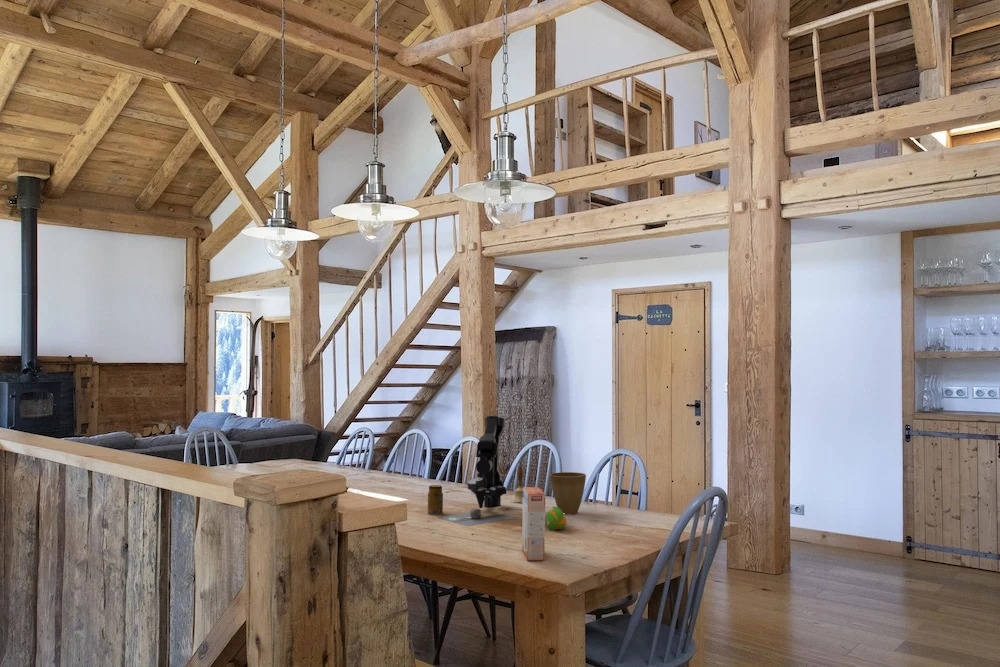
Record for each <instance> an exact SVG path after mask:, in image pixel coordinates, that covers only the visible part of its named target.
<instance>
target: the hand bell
mask: <svg viewBox="0 0 1000 667" xmlns="http://www.w3.org/2000/svg"><path fill="white" fill-rule="evenodd" d="M523 471H524V470H523V468H522V465H518V466H517V470H516V477H517V488H515V490H514V495H513V498H512V499H511V500H510V502H511V501H513V502H523V486H522V485H523V484H522V482H523V481H522V479H523V477H524V476H523Z"/></svg>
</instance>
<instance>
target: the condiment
mask: <svg viewBox="0 0 1000 667" xmlns="http://www.w3.org/2000/svg"><path fill="white" fill-rule="evenodd" d="M443 503H444V493H443V486H442V485H440V484H431V485H429V486H428V493H427V515H435V516H436V515H442V514H443V509H444V507H443V506H444V504H443Z"/></svg>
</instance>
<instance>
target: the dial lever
mask: <svg viewBox="0 0 1000 667" xmlns="http://www.w3.org/2000/svg"><path fill="white" fill-rule="evenodd" d="M469 513H470V517H467V518H460V519H454V521H456V520H463V519H470V518H471V519H480V518H481V517H486V516H493V515H500V514H506V506H503V505H501V506H499V507H492V508H487V507H484V508H472V509H470V511H469Z"/></svg>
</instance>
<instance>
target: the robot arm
mask: <svg viewBox="0 0 1000 667" xmlns="http://www.w3.org/2000/svg"><path fill="white" fill-rule="evenodd" d="M484 427H485V430H484V434H483V435H482V436H480V437H479V440H478V441H477V447H476V453H475V455H476V456H475V458H479V460H478V461H477V463H476V465H475V469H476V471H477V474H476V477H474V478H472V479H470V480H468V481H467V490H469V491H470V492H471V493H473V494H474V495H475V497H476V501H477V504H478V507H479V508H478V509H483V507H484V508H492V507H500V506H502V505H501V504H502V503H501V501H502V499H501V497H502V496H503V495H507V488H506V487H505V485H504V484H505V483H503V480H502V476H501V474H500V472H499V458H500V457H499V456H500V439H501V437H502V436H503V434H504V431H505V428H506V420H505V418H503V417H502V416H498V415H488V416H486V417H485V418H484Z"/></svg>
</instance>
